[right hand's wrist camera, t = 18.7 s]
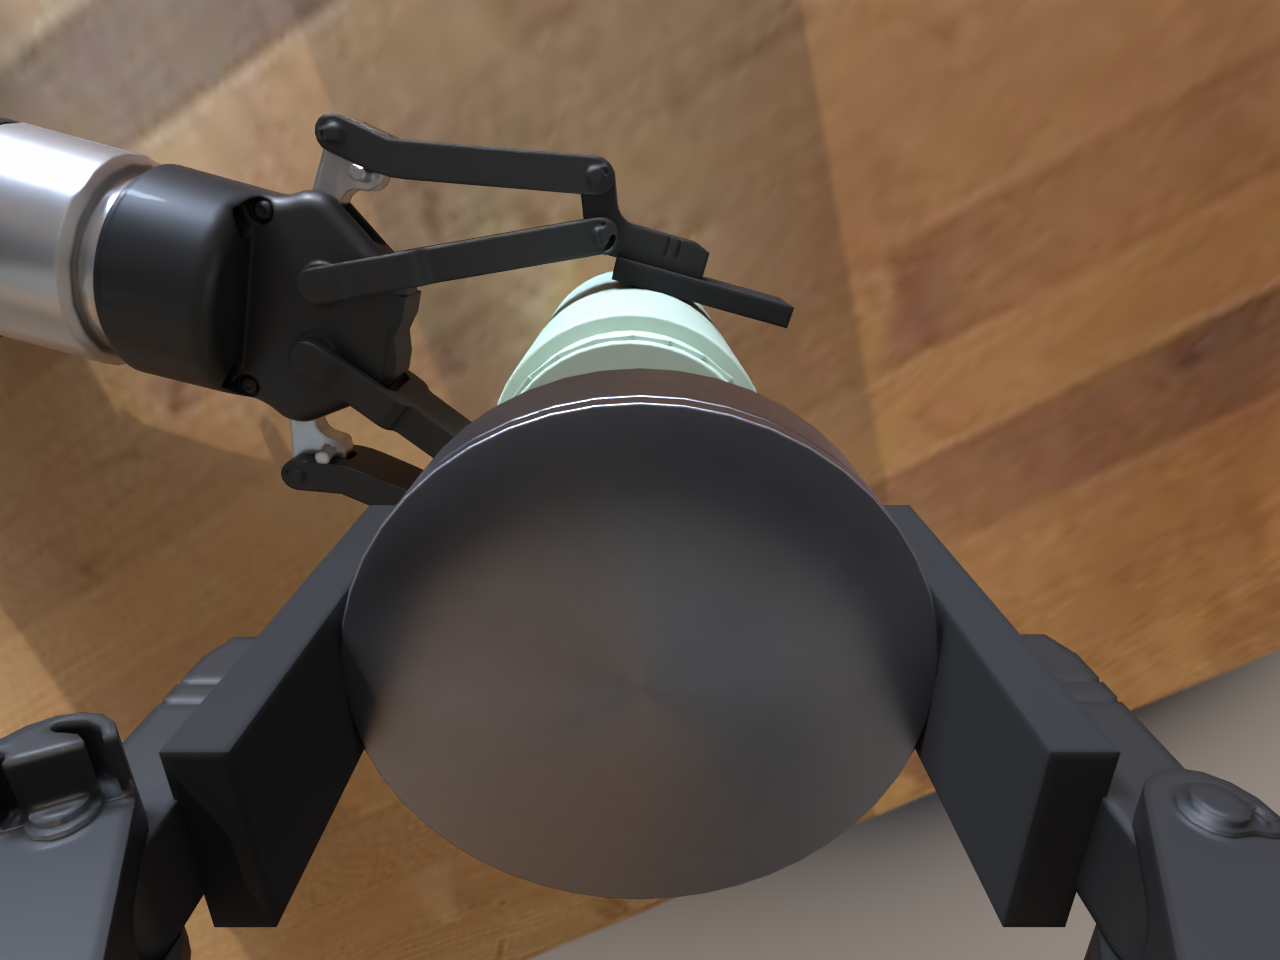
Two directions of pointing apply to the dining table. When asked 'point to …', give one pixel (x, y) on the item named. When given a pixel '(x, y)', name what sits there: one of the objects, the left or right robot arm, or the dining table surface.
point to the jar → (624, 338)
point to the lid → (639, 638)
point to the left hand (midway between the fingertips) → (745, 423)
